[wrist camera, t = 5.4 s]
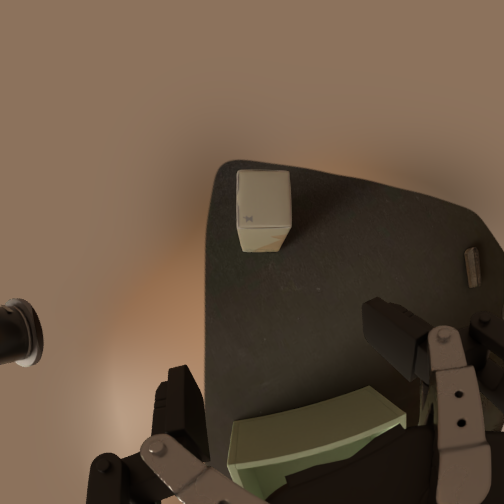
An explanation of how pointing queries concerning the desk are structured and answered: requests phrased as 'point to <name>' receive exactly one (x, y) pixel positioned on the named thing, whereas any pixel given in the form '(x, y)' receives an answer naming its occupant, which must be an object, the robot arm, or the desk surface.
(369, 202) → the desk surface
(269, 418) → the bin
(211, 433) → the desk surface
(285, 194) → the box
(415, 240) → the desk surface
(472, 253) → the block
